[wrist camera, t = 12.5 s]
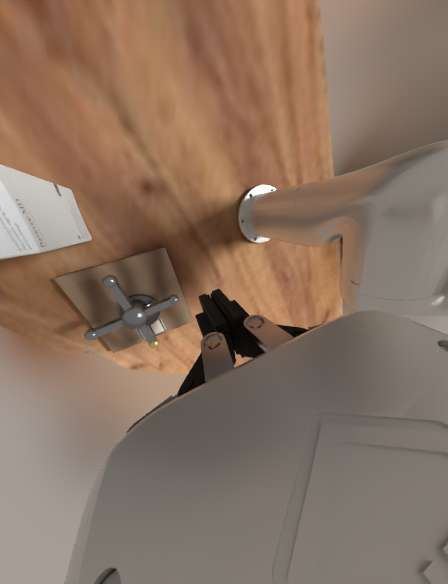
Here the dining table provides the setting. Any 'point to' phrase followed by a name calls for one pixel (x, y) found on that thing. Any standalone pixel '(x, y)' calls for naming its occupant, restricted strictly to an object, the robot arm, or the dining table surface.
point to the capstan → (132, 312)
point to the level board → (134, 280)
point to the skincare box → (36, 215)
